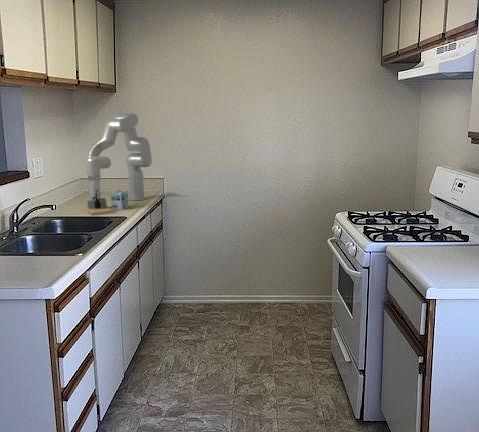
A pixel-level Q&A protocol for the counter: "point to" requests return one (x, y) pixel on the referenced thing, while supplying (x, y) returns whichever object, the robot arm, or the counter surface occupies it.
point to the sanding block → (91, 202)
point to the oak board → (98, 210)
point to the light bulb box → (119, 200)
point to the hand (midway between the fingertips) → (96, 207)
